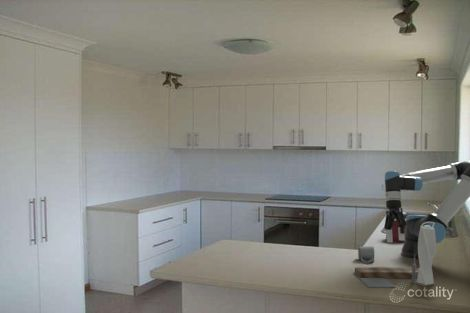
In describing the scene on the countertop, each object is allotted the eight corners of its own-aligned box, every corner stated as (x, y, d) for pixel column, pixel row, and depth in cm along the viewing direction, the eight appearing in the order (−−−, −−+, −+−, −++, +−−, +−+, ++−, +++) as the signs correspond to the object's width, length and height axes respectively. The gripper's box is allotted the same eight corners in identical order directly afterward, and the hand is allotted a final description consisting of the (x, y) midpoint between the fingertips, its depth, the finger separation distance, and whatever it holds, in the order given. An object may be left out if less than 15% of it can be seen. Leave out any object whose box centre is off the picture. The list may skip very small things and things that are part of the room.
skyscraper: (423, 279, 211) (425, 220, 210) (438, 284, 204) (440, 223, 203) (410, 282, 207) (413, 221, 206) (425, 287, 200) (428, 224, 199)
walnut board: (418, 273, 222) (418, 267, 222) (426, 278, 214) (426, 272, 214) (354, 272, 220) (354, 267, 220) (360, 277, 212) (360, 272, 212)
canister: (382, 238, 301) (383, 212, 301) (399, 238, 304) (400, 211, 303) (392, 242, 289) (393, 215, 288) (410, 242, 291) (411, 215, 290)
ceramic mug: (357, 257, 249) (358, 244, 248) (373, 258, 247) (373, 245, 247) (359, 263, 238) (359, 248, 238) (375, 264, 237) (376, 249, 236)
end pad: (384, 279, 211) (384, 278, 211) (395, 287, 199) (395, 286, 199) (359, 278, 210) (359, 278, 210) (368, 287, 198) (368, 286, 198)
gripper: (376, 203, 250) (378, 242, 245) (397, 196, 226) (399, 239, 221) (389, 204, 251) (392, 243, 246) (411, 196, 227) (414, 239, 222)
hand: (395, 241), depth 233 cm, fingers open, 13 cm apart
